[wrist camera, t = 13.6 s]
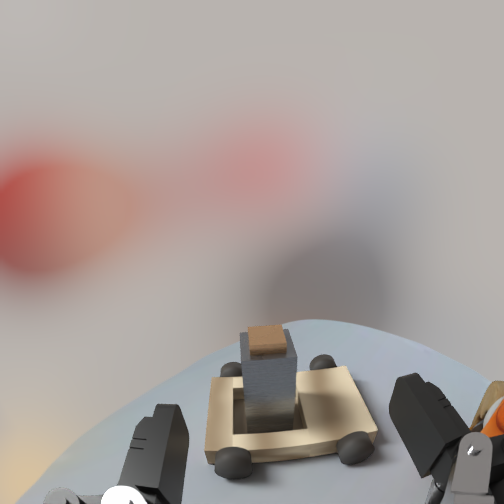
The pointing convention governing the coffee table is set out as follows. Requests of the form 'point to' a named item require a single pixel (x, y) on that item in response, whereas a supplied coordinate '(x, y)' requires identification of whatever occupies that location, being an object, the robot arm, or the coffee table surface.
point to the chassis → (304, 425)
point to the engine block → (268, 378)
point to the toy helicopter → (490, 411)
